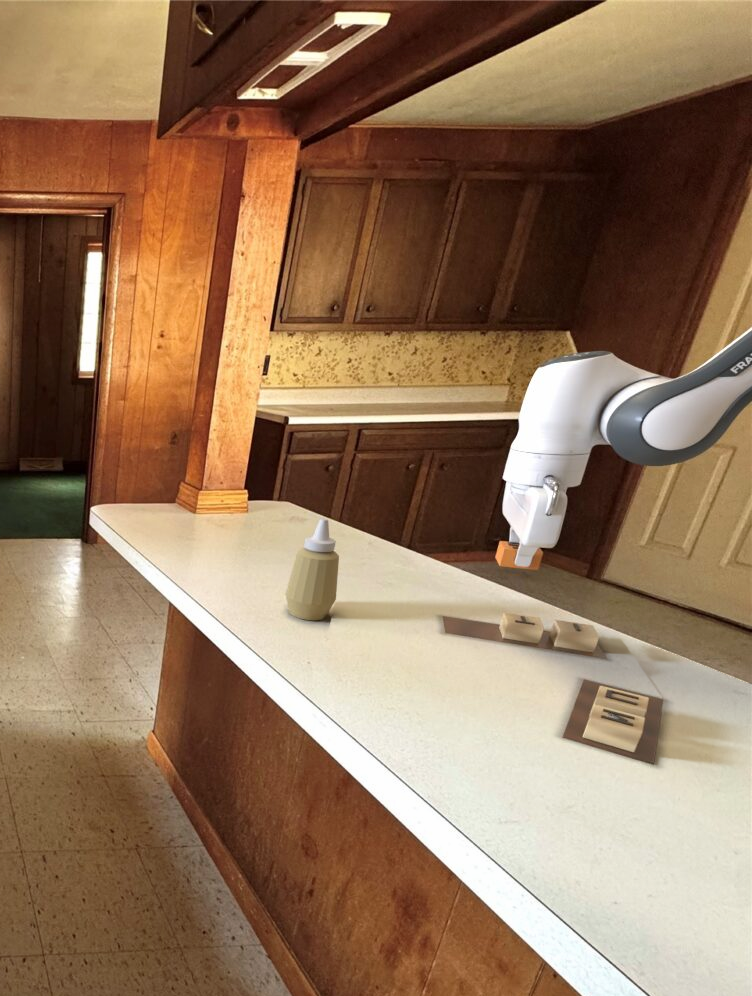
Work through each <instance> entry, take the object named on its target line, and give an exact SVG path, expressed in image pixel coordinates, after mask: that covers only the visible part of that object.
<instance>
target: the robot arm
mask: <svg viewBox="0 0 752 996" xmlns="http://www.w3.org/2000/svg"><path fill="white" fill-rule="evenodd" d="M531 377H532V378H531V380H530V382H529V384H528V386H527V389H526V391H525V394H524V398H523V400H522V404H521V408H520V411H519V415H518V431H517V434H516V437H515V438H514V440H513V441H512V443H511V445H510V448H509V452H508V455H507V459H506V463H505V466H504V469H503V475H502V480H504V481H505V482H506V483H505V488H504V493H503V499H502V515H503V517H504V518H505V519H506V521H507V522H508V524H509V526H510V528H509V539H508V542H518V543H520V545H519V548H518V551H517V552H516V554H515V558H514V563H515V565H517V566H522V567H528V566H530V564H531V561H532V557H533V556H534V554H535V552H536V551H537V549H538V548H539V547H540V549H541V548H544V549H552V548H554V547H555V546H556V545H557V543H558V541H559V538H560V535H561V531H562V527H563V523H564V519H565V516H566V511H567V506H568V496H567V494H566V493H567V490H568V488H574V487H578V486H580V485H581V483H582V480H583V478H584V475H585V471H586V467H587V464H588V461H589V458H590V455H591V452H592V449H593V447H595V446H598V445H609V446H611V447H612V449H613V450H614V452H615V453H616V454H617V455H618V456H619V457H621V458H622V459H624V460H626V461H628V462H630V463H632V464H636V465H639V466H644V467H666V466H672V465H677V464H680V463H684V462H687V461H690V460H691V459H694V458H696V457H698V456H701V454H704V453H705V452H707V451H708V450H709V449H710V448H712V447H713V446H714V445H715V444H716V443H718V441H719V440H720V439H721V438H722V437H723V436H724V434H725V433H726V432H727V431H728V430H729V428H730V426H731V425H732V424H733V423H734V421H735V420H736V418H737V417H738V416H739V415H740V413H742V412H743V410H744V409H745V408H746V407H748V405H750V404H751V403H752V326H751V327H750V328H749V329H747V330H746V331H745V332H744V333H741V335H740V336H738V337H737V338H735V339H734V340H733V341H731V342H730V343H729V344H727V346H725V347H724V348H722V349H721V350H720V351H718V353H716V354H715V355H713V356H712V357H711V358H709V359H708V360H706V362H704V363H703V364H701V365H700V366H699V367H697V368H695V369H694V370H692V371H690V372H688V373H686V374H683V375H681V376H678V377H676V378H672V377H668V376H665V375H660V374H657V373H652V372H650V371H647V370H645V369H642V368H639V367H637V366H634V365H632V364H630V363H628V362H626V361H625V360H622V359H620V358H618V357H617V356H616V355H615V354H614V353H613V352H611V351H607V350H595V351H594V350H592V351H584V352H583V351H582V352H575V353H570V354H564V355H561V356H556V357H554V358H551V359H548V360H547V361H545V362H544V363H543V364H541V365H540V366H539V367H538V368H537V369H536V370H535V372H534V373H533V375H532V376H531Z"/></svg>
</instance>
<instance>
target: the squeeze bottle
mask: <svg viewBox="0 0 752 996" xmlns="http://www.w3.org/2000/svg"><path fill="white" fill-rule="evenodd" d="M329 525H330V524H329V518H324V517H323V518H320V519H319V522H318V524H317V526H316V529H315V531H314V533H313V535H310V536H307V537H305V540H304V545H303V548H301V549H298V551H297V553H296V556H295V560H294V563H293V566H292V570H291V573H290V576H289V581H288V584H287V587H286V590H285V598H286V603H287V608H288V612H289V614H290V616H291V615H292V616H293V617H295V618H298V619H300V620H305V621H320V620H324V619H325V618H326V616H328V614H329V612H330V610H331V608H332V607H333V605H334V604H335V602H336V600H337V590H338V589H337V588H338V575H339V564H340V563H339V562H340V561H339V560H340V555H339V554H338V553H337V552H336V551H335V547H336V542H337V541H336V540H335V539H334V538H332V537H330V527H329Z"/></svg>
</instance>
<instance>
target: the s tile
mask: <svg viewBox="0 0 752 996" xmlns="http://www.w3.org/2000/svg"><path fill="white" fill-rule="evenodd" d="M519 545H520V543H518V542H509V541H505V540H499V542H498V546H497V549H496V553H495V557H494V558H495V560H496V562H497V564H498V566H499V567H505V568H513V569H523V570H533V571H535V570H536V571H538V570H539V568H540V565H541V562H542V559H543V555H544V552H543V550H542V549H541V547H539V548H538V549H537V551H536V552H535V554H534V556H533V557H532V561H531V564H530V566H528V567H522V566H517V565H515V563H514V558H515V554H516V552H517V551H518V548H519Z"/></svg>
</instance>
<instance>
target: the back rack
mask: <svg viewBox="0 0 752 996" xmlns="http://www.w3.org/2000/svg"><path fill="white" fill-rule="evenodd" d="M442 622H443V628H444V629H443V630H444V634H447V635H448V634H449V635H453V636H459V637H467V638H473V639H478V640H479V639H480V640H485V641H486V640H487V641H492V642H498V643H504V644H511V645H516V646H523V647H529V648H535V649H541V650H548V651H554V652H561V653H566V654H571V655H572V654H573V655H577V656H578V655H580V656H585V657H591V658H599V659H603V660H604V659H605V660H607V657H606V655H605V653H604V652H603V650H602V649H601V647H600V645H599V644H598V643H599V642H598V641H599V640H600V634H599V632H598V631H597V629H596V628H595V627H594V625H593V624H588V623H580V622H573V621H566V620H565V621H564V620H558V619H554V622H553V624H552V627H551V631H544V630H545V627H544V624H543V623H542V620H541V618H540V617H536V616H529V615H523V614H517V613H510V612H503V614H502V617H501V620H500V623H499V624H498V623H491V622H485V621H479V620H472V619H467V618H458V617H451V616H445V615H442Z"/></svg>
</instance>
